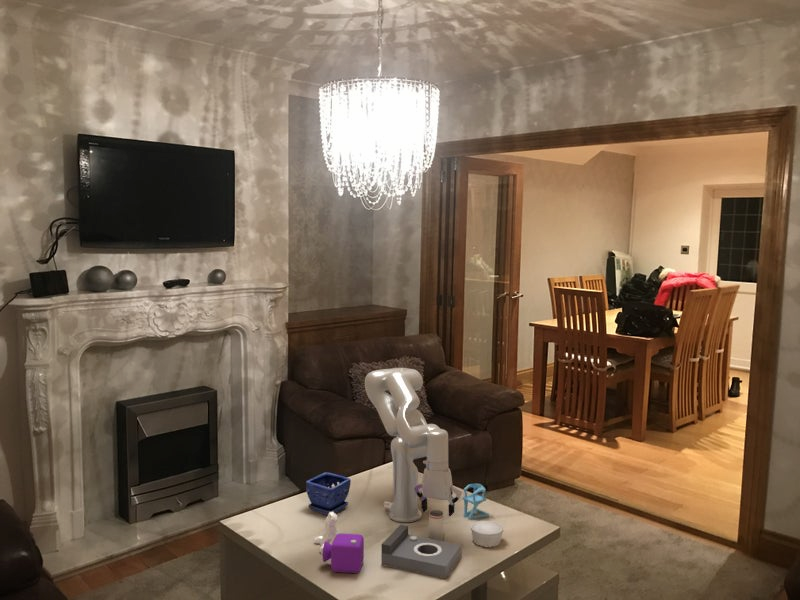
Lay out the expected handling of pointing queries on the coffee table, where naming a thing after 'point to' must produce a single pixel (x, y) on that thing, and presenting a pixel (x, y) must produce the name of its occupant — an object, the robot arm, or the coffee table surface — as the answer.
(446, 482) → the robot arm
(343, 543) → the toy camera
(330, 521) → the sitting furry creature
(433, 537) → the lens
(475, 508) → the chair
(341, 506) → the flower pot
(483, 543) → the ramekin
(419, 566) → the camera body
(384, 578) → the coffee table surface
